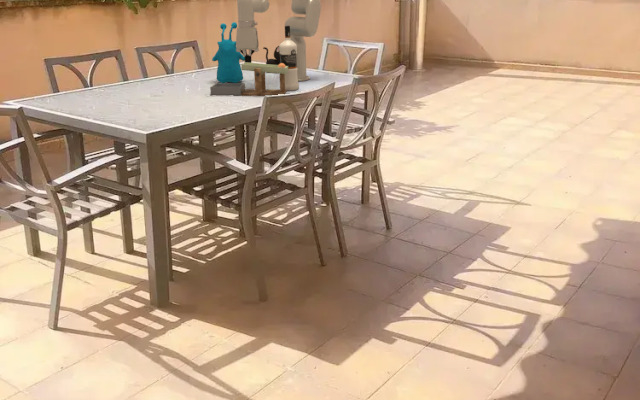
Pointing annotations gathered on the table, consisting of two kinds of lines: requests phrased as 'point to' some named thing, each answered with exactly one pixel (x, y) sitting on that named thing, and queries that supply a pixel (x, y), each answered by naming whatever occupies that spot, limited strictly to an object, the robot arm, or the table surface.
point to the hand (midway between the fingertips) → (248, 64)
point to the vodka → (289, 61)
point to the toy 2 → (276, 56)
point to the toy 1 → (228, 59)
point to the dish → (228, 89)
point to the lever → (264, 68)
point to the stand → (264, 86)
